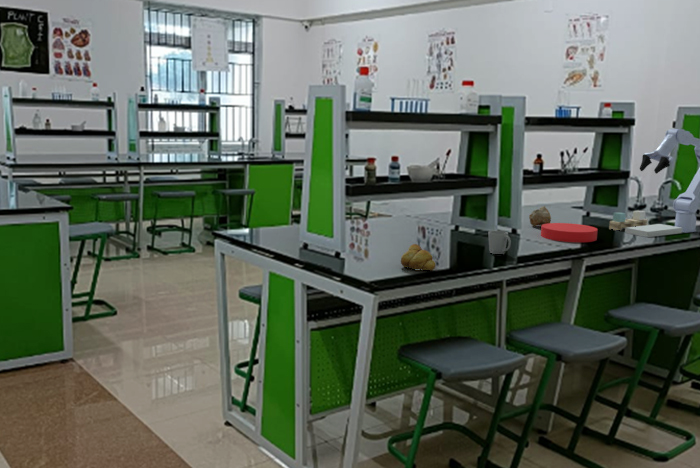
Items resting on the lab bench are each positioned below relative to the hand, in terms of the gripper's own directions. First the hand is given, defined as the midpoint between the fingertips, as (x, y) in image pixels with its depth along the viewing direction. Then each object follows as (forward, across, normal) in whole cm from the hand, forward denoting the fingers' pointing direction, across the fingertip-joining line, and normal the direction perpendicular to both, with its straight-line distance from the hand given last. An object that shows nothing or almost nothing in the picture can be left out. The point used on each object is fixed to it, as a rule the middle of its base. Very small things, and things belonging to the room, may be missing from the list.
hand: (648, 170), depth 303 cm
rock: (+42, -36, +2) cm, 55 cm away
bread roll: (+115, +13, -77) cm, 139 cm away
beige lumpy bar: (+15, -13, +28) cm, 35 cm away
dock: (+14, +1, +28) cm, 31 cm away
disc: (+48, -8, -5) cm, 49 cm away
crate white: (+7, -14, +31) cm, 35 cm away
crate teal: (+18, -13, +20) cm, 30 cm away
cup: (+85, +6, -46) cm, 97 cm away
